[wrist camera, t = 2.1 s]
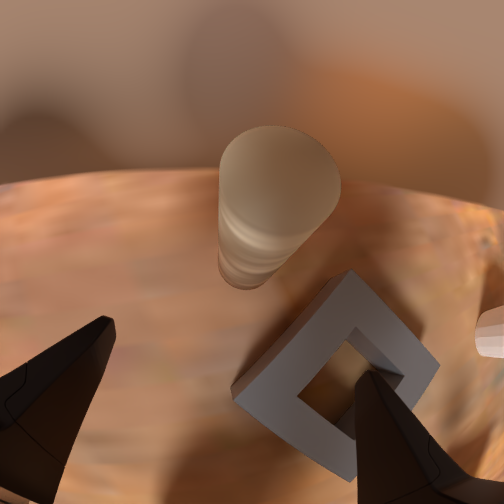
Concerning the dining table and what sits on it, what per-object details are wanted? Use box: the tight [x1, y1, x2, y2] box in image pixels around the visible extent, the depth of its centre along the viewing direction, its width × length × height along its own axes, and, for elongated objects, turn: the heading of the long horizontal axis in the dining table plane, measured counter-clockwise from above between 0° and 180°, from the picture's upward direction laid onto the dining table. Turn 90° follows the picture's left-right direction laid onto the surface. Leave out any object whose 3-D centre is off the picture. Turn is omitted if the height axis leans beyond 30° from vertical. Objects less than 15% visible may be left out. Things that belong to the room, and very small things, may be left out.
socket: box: [230, 269, 440, 482], centre depth 19 cm, size 12×12×4 cm
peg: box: [218, 126, 341, 290], centre depth 16 cm, size 4×4×14 cm
